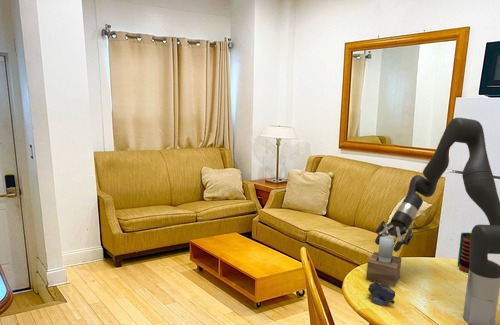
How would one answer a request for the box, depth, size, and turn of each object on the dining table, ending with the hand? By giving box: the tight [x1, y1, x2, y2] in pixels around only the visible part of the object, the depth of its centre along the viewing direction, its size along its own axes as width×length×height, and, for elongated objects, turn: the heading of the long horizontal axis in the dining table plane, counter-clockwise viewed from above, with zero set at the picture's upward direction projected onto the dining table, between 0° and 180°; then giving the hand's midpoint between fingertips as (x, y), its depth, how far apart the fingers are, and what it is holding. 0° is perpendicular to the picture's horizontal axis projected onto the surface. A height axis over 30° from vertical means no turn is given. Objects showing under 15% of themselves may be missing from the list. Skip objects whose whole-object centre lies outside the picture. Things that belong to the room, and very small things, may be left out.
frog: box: [367, 280, 396, 307], centre depth 140 cm, size 9×11×7 cm
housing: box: [365, 251, 402, 288], centre depth 158 cm, size 12×11×8 cm
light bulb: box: [377, 236, 395, 264], centre depth 157 cm, size 5×5×14 cm
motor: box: [456, 232, 471, 274], centre depth 167 cm, size 10×9×20 cm
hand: (385, 247), depth 156 cm, fingers open, 8 cm apart
